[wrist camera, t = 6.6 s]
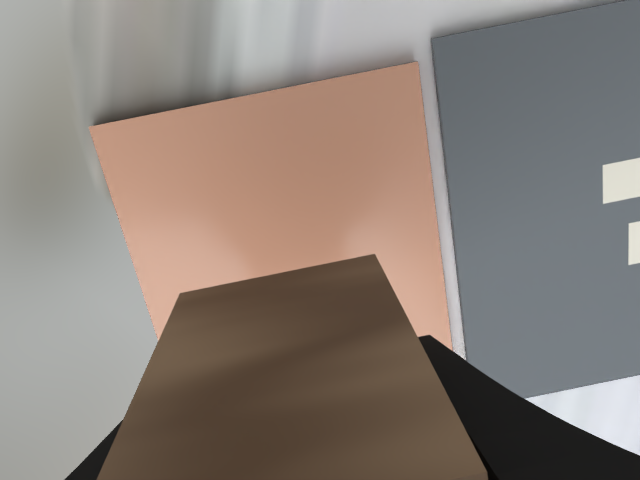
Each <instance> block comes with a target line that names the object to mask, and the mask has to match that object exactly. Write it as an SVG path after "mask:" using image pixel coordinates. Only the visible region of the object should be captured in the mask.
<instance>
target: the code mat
mask: <svg viewBox="0 0 640 480" xmlns="http://www.w3.org/2000/svg"><path fill="white" fill-rule="evenodd" d="M431 43H432V52H433V61H434V70H435V79H436V88H437V97H438V107H439V116H440V125H441V134H442V143H443V152H444V161H445V170H446V179H447V188H448V197H449V206H450V215H451V224H452V233H453V242H454V251H455V260H456V269H457V278H458V288H459V297H460V306H461V315H462V324H463V333H464V342H465V351H466V360H467V362H468V363H470V364H471V365H473V366H474V367H476V368H477V369H478V370H480V371H481V372H483V373H484V374H486V375H487V376H489V377H490V378H492V379H493V380H495V381H496V382H498V383H500V384H501V385H503V386H504V387H506V388H507V389H509V390H510V391H512V392H514V393H515V394H517V395H519V396H520V397H522V398H529V397H534V396H539V395H544V394H549V393H554V392H559V391H564V390H568V389H573V388H578V387H583V386H588V385H593V384H598V383H603V382H607V381H612V380H617V379H622V378H627V377H632V376H637V375H640V0H625V1H620V2H615V3H610V4H605V5H600V6H595V7H590V8H584V9H579V10H574V11H569V12H564V13H559V14H554V15H549V16H544V17H539V18H534V19H529V20H524V21H519V22H514V23H509V24H504V25H499V26H494V27H489V28H484V29H479V30H473V31H468V32H463V33H458V34H453V35H448V36H443V37H438V38H433V39H431Z"/></svg>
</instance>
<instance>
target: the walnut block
mask: <svg viewBox="0 0 640 480" xmlns="http://www.w3.org/2000/svg"><path fill="white" fill-rule="evenodd" d="M97 480H488V475H487V471H486V469H485V467H484V465H483V463H482V461H481V459H480V457H479V455H478V453H477V451H476V449H475V447H474V445H473V443H472V442H471V440H470V438H469V436H468V434H467V432H466V430H465V428H464V426H463V424H462V422H461V420H460V418H459V416H458V414H457V412H456V410H455V408H454V407H453V405H452V403H451V401H450V399H449V397H448V395H447V393H446V391H445V389H444V387H443V385H442V383H441V381H440V379H439V377H438V375H437V373H436V372H435V370H434V368H433V366H432V364H431V362H430V360H429V358H428V356H427V354H426V352H425V350H424V348H423V346H422V344H421V342H420V340H419V338H418V337H417V335H416V333H415V331H414V329H413V327H412V325H411V323H410V321H409V319H408V317H407V315H406V313H405V311H404V309H403V307H402V305H401V303H400V302H399V300H398V298H397V296H396V294H395V292H394V290H393V288H392V286H391V284H390V282H389V280H388V278H387V276H386V274H385V272H384V270H383V268H382V267H381V265H380V263H379V261H378V259H377V257H376V255H375V254H371V255H366V256H361V257H356V258H351V259H346V260H341V261H336V262H331V263H326V264H321V265H316V266H311V267H306V268H302V269H297V270H292V271H287V272H282V273H277V274H272V275H267V276H262V277H257V278H252V279H247V280H242V281H237V282H232V283H227V284H222V285H217V286H213V287H208V288H203V289H198V290H193V291H188V292H183V293H180V294H179V296H178V298H177V300H176V303H175V305H174V307H173V309H172V312H171V314H170V316H169V318H168V321H167V323H166V325H165V327H164V330H163V332H162V334H161V336H160V339H159V341H158V343H157V346H156V348H155V350H154V352H153V354H152V357H151V359H150V361H149V363H148V365H147V368H146V370H145V372H144V374H143V377H142V379H141V381H140V383H139V386H138V388H137V390H136V393H135V395H134V397H133V399H132V401H131V404H130V406H129V408H128V410H127V413H126V415H125V417H124V419H123V422H122V424H121V426H120V428H119V430H118V433H117V435H116V437H115V439H114V442H113V444H112V446H111V448H110V451H109V453H108V455H107V457H106V460H105V462H104V464H103V466H102V469H101V471H100V473H99V475H98V478H97Z"/></svg>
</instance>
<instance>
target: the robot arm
mask: <svg viewBox="0 0 640 480" xmlns="http://www.w3.org/2000/svg"><path fill="white" fill-rule="evenodd" d="M418 338H419V340H420V342H421V344H422V346H423V348H424V350H425V352H426V354H427V356H428V358H429V360H430V362H431V364H432V366H433V368H434V370H435V372H436V373H437V375H438V377H439V379H440V381H441V383H442V385H443V387H444V389H445V391H446V393H447V395H448V397H449V399H450V401H451V403H452V405H453V407H454V408H455V410H456V412H457V414H458V416H459V418H460V420H461V422H462V424H463V426H464V428H465V430H466V432H467V434H468V436H469V438H470V440H471V442H472V443H473V445H474V447H475V449H476V451H477V453H478V455H479V457H480V459H481V461H482V463H483V465H484V467H485V469H486V471H487V475H488V480H640V456H639V455H637V454H634V453H632V452H630V451H627V450H625V449H623V448H620V447H618V446H616V445H613V444H611V443H609V442H607V441H605V440H603V439H601V438H599V437H596V436H594V435H592V434H590V433H588V432H586V431H584V430H582V429H580V428H577V427H575V426H573V425H571V424H569V423H567V422H565V421H563V420H561V419H560V418H558V417H556V416H554V415H552V414H550V413H548V412H547V411H545V410H543V409H541V408H540V407H538V406H536V405H534V404H533V403H531V402H529V401H527V400H525V399H524V398H522V397H520V396H519V395H517V394H515V393H514V392H512V391H510V390H509V389H507V388H506V387H504V386H503V385H501V384H500V383H498V382H496V381H495V380H493V379H492V378H490V377H489V376H487V375H486V374H484V373H483V372H481V371H480V370H478V369H477V368H476V367H474V366H473V365H471V364H470V363H468V362H467V361H466V360H464V359H463V358H461V357H460V356H459V355H457V354H456V353H455V352H453V351H452V350H450V349H449V348H448V347H446V346H445V345H444V344H442V343H441V342H439V341H438V340H437V339H435V338H434V337H432V336H431V335H425V336H420V337H418ZM122 422H123V420H122V421H121V422H120V423H119V424H118V425H117V426H116V427H115V428H114V430H113V431H112V432H111V433H110V434H109V435H108V436H107V437H106V438H105V439H104V440H103V441H102V442H101V443H100V444H99V445H98V446H97V448H95V449H94V451H93V452H91V453H90V454H89V456H88V457H87V458H86V459H85V460H84V461H83V462H82V463H81V464H80V465H79V466H78V467H77V468H76V469H75V470H74V471H73V472H72V473H71V474H70V475H69V476H68V477H67V478H66V479H65V480H97V478H98V475H99V473H100V471H101V469H102V466H103V464H104V462H105V460H106V457H107V455H108V453H109V451H110V448H111V446H112V444H113V442H114V439H115V437H116V435H117V433H118V430H119V428H120V426H121V424H122Z"/></svg>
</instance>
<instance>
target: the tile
mask: <svg viewBox="0 0 640 480" xmlns="http://www.w3.org/2000/svg"><path fill="white" fill-rule="evenodd" d="M89 130H90V133H91V136H92V139H93V142H94V145H95V148H96V151H97V154H98V157H99V160H100V164H101V167H102V170H103V173H104V176H105V179H106V182H107V185H108V188H109V191H110V194H111V197H112V200H113V203H114V206H115V210H116V213H117V216H118V219H119V222H120V225H121V228H122V231H123V234H124V237H125V240H126V243H127V246H128V249H129V252H130V256H131V259H132V261H133V265H134V268H135V271H136V274H137V277H138V280H139V283H140V286H141V289H142V292H143V295H144V298H145V301H146V305H147V307H148V311H149V314H150V317H151V320H152V323H153V326H154V329H155V332H156V335H157V338H158V341H159V339H160V336H161V334H162V332H163V330H164V327H165V325H166V323H167V321H168V318H169V316H170V314H171V312H172V309H173V307H174V305H175V303H176V300H177V298H178V296H179V294H180V293H183V292H188V291H193V290H198V289H203V288H208V287H213V286H217V285H222V284H227V283H232V282H237V281H242V280H247V279H252V278H257V277H262V276H267V275H272V274H277V273H282V272H287V271H292V270H297V269H302V268H306V267H311V266H316V265H321V264H326V263H331V262H336V261H341V260H346V259H351V258H356V257H361V256H366V255H371V254H375V255H376V257H377V259H378V261H379V263H380V265H381V267H382V268H383V270H384V272H385V274H386V276H387V278H388V280H389V282H390V284H391V286H392V288H393V290H394V292H395V294H396V296H397V298H398V300H399V302H400V303H401V305H402V307H403V309H404V311H405V313H406V315H407V317H408V319H409V321H410V323H411V325H412V327H413V329H414V331H415V333H416V335H417V337H420V336H425V335H431V336H432V337H434V338H435V339H437V340H438V341H439V342H441V343H442V344H444V345H445V346H446V347H448V348H449V349H450V350H452V351H453V349H452V341H451V333H450V324H449V316H448V308H447V299H446V291H445V283H444V274H443V266H442V258H441V249H440V241H439V232H438V224H437V216H436V207H435V199H434V191H433V182H432V174H431V166H430V157H429V149H428V141H427V132H426V124H425V115H424V107H423V99H422V90H421V82H420V74H419V65H418V62H411V63H406V64H401V65H396V66H391V67H386V68H381V69H376V70H371V71H366V72H361V73H356V74H351V75H346V76H340V77H335V78H330V79H325V80H320V81H315V82H310V83H305V84H300V85H295V86H290V87H285V88H280V89H275V90H270V91H265V92H260V93H255V94H250V95H245V96H240V97H235V98H230V99H225V100H220V101H215V102H210V103H204V104H199V105H194V106H189V107H184V108H179V109H174V110H169V111H164V112H159V113H154V114H149V115H144V116H139V117H134V118H129V119H124V120H119V121H114V122H109V123H104V124H99V125H94V126H90V127H89Z"/></svg>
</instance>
